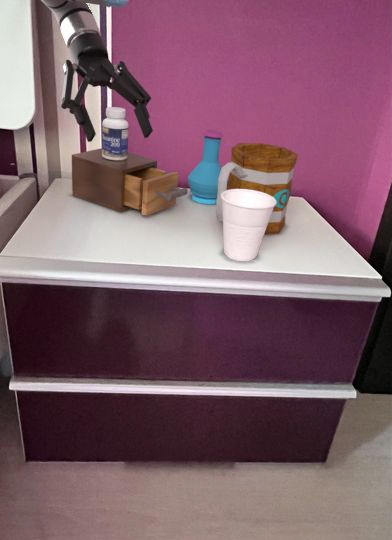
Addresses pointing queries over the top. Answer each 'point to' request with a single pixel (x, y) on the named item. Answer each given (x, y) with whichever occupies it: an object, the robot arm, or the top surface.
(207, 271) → the top surface
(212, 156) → the perfume bottle
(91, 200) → the cabinet
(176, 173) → the drawer
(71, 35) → the robot arm
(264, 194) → the cup
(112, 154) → the pill bottle
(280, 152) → the mug
